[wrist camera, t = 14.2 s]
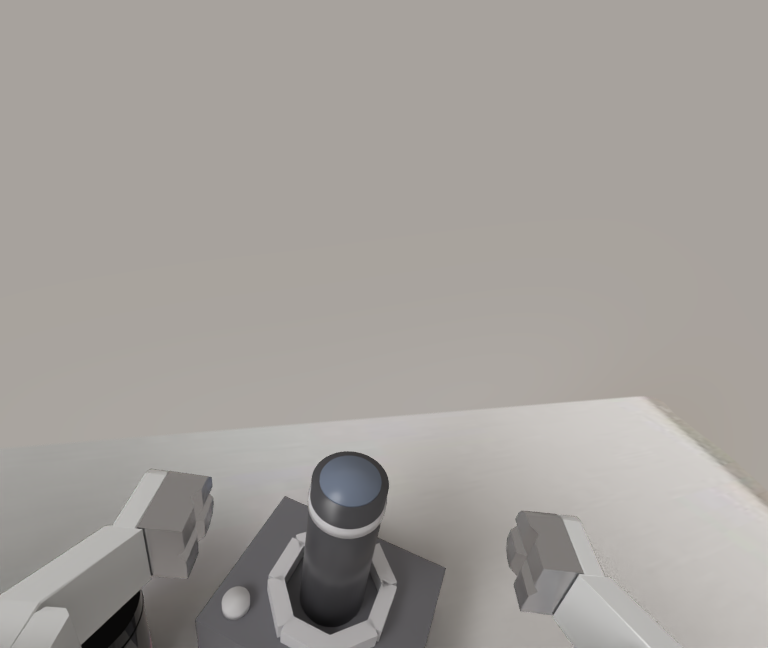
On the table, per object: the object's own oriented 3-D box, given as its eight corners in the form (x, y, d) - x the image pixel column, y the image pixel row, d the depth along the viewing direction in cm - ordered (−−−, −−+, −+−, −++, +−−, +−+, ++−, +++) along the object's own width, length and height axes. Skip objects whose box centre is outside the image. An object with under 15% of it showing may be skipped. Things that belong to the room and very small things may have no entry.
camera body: (199, 660, 35) (194, 608, 31) (282, 535, 45) (285, 485, 41) (387, 769, 31) (406, 725, 27) (431, 606, 41) (449, 557, 37)
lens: (285, 609, 33) (294, 493, 27) (318, 550, 37) (333, 438, 31) (347, 641, 32) (372, 528, 25) (374, 577, 36) (401, 466, 30)
